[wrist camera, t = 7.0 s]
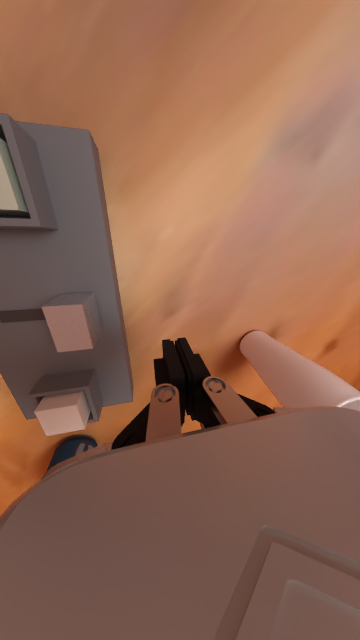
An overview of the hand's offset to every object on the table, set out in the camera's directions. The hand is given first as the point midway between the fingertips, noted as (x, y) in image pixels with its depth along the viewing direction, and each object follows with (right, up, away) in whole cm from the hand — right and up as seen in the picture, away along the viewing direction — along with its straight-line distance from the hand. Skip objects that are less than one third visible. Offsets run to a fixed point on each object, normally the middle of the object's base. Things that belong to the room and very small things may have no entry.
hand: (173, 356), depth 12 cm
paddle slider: (-10, +3, +6) cm, 12 cm away
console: (-14, +5, +8) cm, 17 cm away
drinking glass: (+13, -1, +18) cm, 22 cm away
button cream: (-13, -7, +9) cm, 18 cm away
